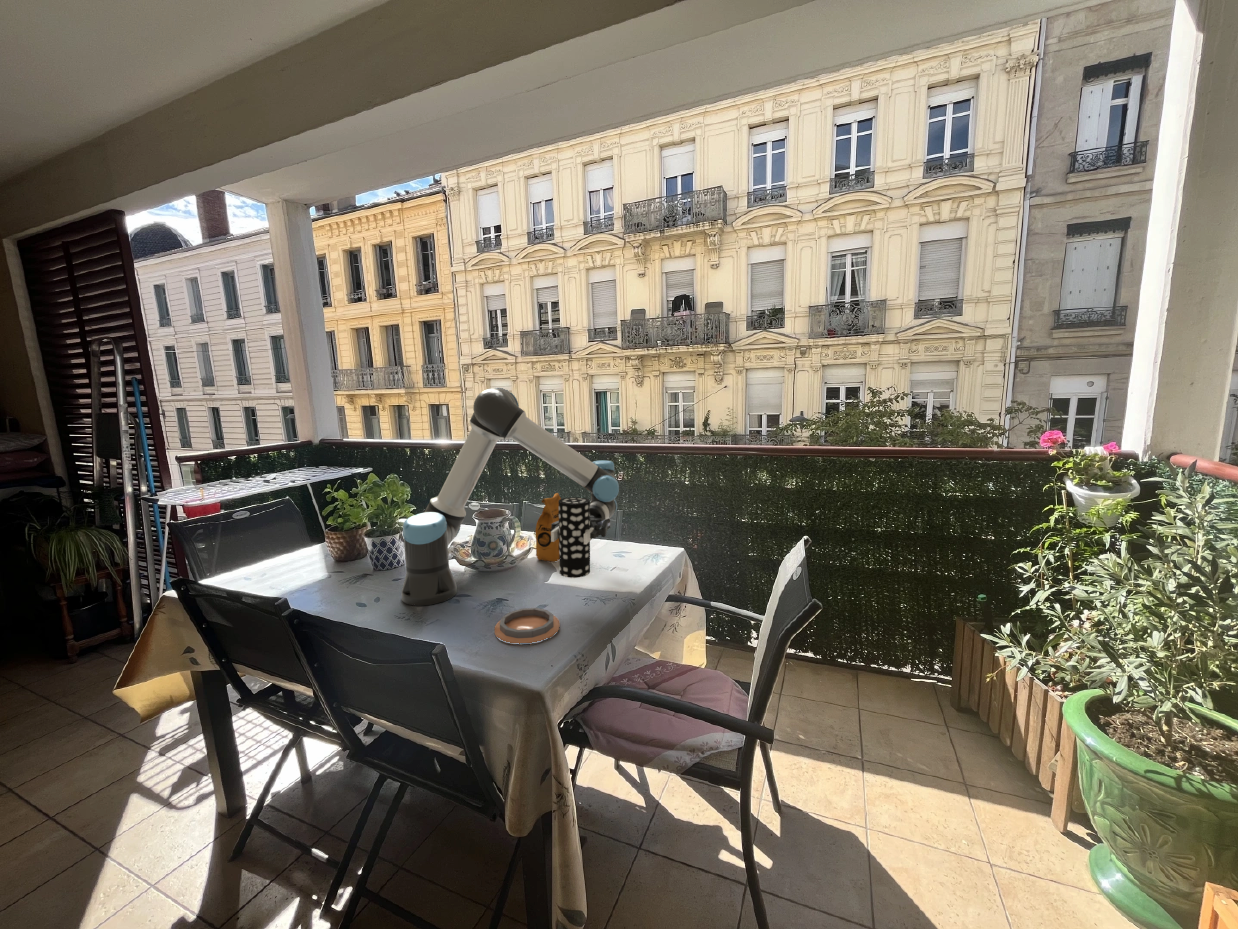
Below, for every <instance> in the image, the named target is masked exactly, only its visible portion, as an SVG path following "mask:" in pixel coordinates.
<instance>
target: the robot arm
mask: <svg viewBox="0 0 1238 929" xmlns="http://www.w3.org/2000/svg"><path fill="white" fill-rule="evenodd" d="M472 408H473V410H472V411H473V414H472V415H471V417H470V419H469V425H470V427H471V428H470V430H469V433H468V435H467V437H466V439H465V441H464V444H462V447H461V449H460V451H459V453H458V455H457V457H456V459H455V461H454V463H453V466H452V467H451V470H450V472H449V473H448V476H447V477H446V480H445V481H444V484H443V485H442V487H441V489H440V492H439V493H438V495H437V496H435V497H432V498H430V500H429V503H428V504H427V506H426V507H425V511H423V512H420V513H417V514H414V515H412V516H409V517H408V518H406V519H405V520H404V522H403V524H402V525H403V526H402V537H403V546H404V558H405V568H406V569H405V570H406V571H405V572H406V573H405V577H404V580H403V581H404V582H403V584H402V588H401V593H400V594H401V600H402V602H403V603H404V604H406V605H410V606H418V607H419V606H421V607H422V606H423V607H424V606H430V605H431V606H432V605H436V604H439V603H444V602H446V601H448V600H450V599H452V598H453V597H454V596H456V595H457V592H458V588H457V587H458V585H457V582H456V580H455V577H454V575H453V573H452V570H451V569H450V565H449V564H450V563H449V562H450V560H449V559H450V558H449V545H450V544H451V543H452V542H453V541H454V539H455V538H456V537H457V536H458V534H459V533H460V530H461V528H462V527H461V525H462V523H463V522H464V520H465V517H466V515H467V512H466V508H465V506H466V505H467V502H468V500H469V499H470V497H471V494H472V493H473V491H474V488H475V486H476V485H477V483H478V480H479V479H480V476H481V475H482V473H483V471H484V468H485V466H486V465H487V463H488V460H489V459H490V456H491V454H492V452H493V450H494V448H495V447H496V445H497V442H498V441H500V440H503V439H505V440H513V441H514V442H516V443H517V444H519V445H520V446H522V447H523V448H525V449H526V450H528V451H529V452H531V453H532V454H533V455H535V456H537V457H538V458H540V459H541V460H543V461H544V462H546V463H547V464H549V465H550V466H551V467H553V468H554V469H556V470H558V471H559V472H560V473H562V474H563V475H565V476H567V477H568V478H569V479H571V480H573V481H574V482H576V483H577V484H578V485H580V486H582V488H584V489H585V490H587V491H588V492H590V529H589V530H588V531H587V532H586V533H584V544H587V543H589V542H590V543H591V541H592V540H594V539H596V538H599V537H603V538H605V537H606V536H607V533H608V530H609V529H611V519H612V518H613V517H614V516H615V513H616V512H617V510H618V503H617V500H616V498H617V497H618V495H619V491H620V484H619V481H618V480H617V479H616V477H615V472H616V470H615V463H614V461H611V460H594V461H591V460H589V459H588V458H587V457H585V456H584V455H583V454H581V453H579V452H578V451H577V450H575V449H573V447H571V446H569V445H567V444H566V443H565V442H564V441H562V440H561V439H560V438H559V437H556V436H555V435H553V434H552V433H551V432H549V431H547V430H546V429H545V428H543V427H542V426H540V425H539V424H538V423H536V422H535V421H534V420H532V419H530V418H529V417H527V414H526V411H525V410H524V409H522V408H521V407H520V405H519V402H518V400H517V398H516V396H515V395H514V394H513V393H512V392H511V391H509V390H508V389H505V388H502V387H493V388H491V387H490V388H487V389H484V390H483V391H481V392H480V393H479V394H477V396H476V397H475V399H474V402H473V407H472ZM558 538H559V521H557V522H554V523H552V524H551V542H554V541H556V540H557V539H558Z"/></svg>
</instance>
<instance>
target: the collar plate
mask: <svg viewBox="0 0 1238 929" xmlns="http://www.w3.org/2000/svg"><path fill="white" fill-rule="evenodd" d="M560 624H561V623H560V619H559V618H558V617H556V616H555V615H554V614H553V613H552V612H550V611H549V610H547V609H543V608H539V607H527V608H525V607H524V608H520V609H516V610H513V611H509V612H507V613H506V614H505V615H504V616H501V619H500V620H499V621H498V622H497V623H496V624H495V625H494V636H495V635H496V636H495V638H496V637H498V638H500V639H501V640H503V641H506V642H510V643H519V644H520V643H532V642H537V641H541V640H544V639H546V638H550V637H552V636H553V635H554V634H555V633H556V632H558V633H559V631H560V628H559V627H561V626H560ZM558 630H559V631H558ZM553 637H554V636H553ZM553 637H552V638H553ZM550 639H551V638H550Z"/></svg>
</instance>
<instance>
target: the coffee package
mask: <svg viewBox="0 0 1238 929" xmlns="http://www.w3.org/2000/svg"><path fill="white" fill-rule="evenodd" d="M560 499H562V498H561V497H560V494H559V493H558V492H556V493H554V495H553V497H548V498H547V497H546V498H543V499H542V500H541V503H542V504H544V506H543V509H542V512H541V514H540V516H539V518H538V519H537V521H536V526H535V529H534V530H535V531H534V532H535V556H536V558H537V560H539V561H541V560H542V561H545V562H551V563H552V562H553V563H554V562H555V561H557V562H558V561H559V538H558V539H557V540H556V541H554V542H551V524H552V523H554V522H557V521H559V500H560ZM555 563H556V562H555Z"/></svg>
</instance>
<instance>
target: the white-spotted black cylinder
mask: <svg viewBox="0 0 1238 929" xmlns="http://www.w3.org/2000/svg"><path fill="white" fill-rule="evenodd" d="M590 504H591V499H589V498H586V497H579V496H577V497H576V496H572V497H563V498H561V499H560V500H559V560H558V561H559V562H558V564H559V575H560V576H562V577H565V578H571V579H572V578H573V579H575V578H582V577H586V576H588V575H589V574H591V541H590V542H589V543H587V544H584V533H586V532H587V531H588V530H589V529H590Z"/></svg>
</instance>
